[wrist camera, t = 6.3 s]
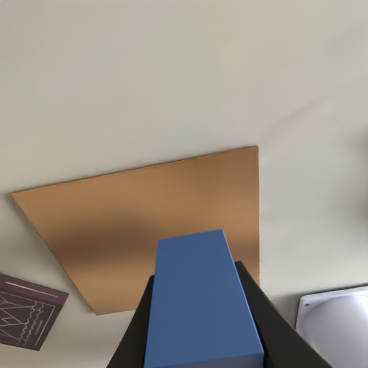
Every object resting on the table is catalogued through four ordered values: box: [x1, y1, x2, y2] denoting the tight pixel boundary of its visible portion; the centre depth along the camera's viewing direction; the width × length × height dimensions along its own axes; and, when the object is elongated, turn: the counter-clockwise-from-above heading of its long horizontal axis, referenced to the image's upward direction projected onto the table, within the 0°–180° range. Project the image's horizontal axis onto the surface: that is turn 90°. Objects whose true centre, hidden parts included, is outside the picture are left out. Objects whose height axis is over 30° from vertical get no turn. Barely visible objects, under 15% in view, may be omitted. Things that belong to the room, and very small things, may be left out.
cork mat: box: [11, 146, 260, 315], centre depth 15 cm, size 14×16×1 cm
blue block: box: [144, 229, 264, 368], centre depth 10 cm, size 4×4×6 cm
